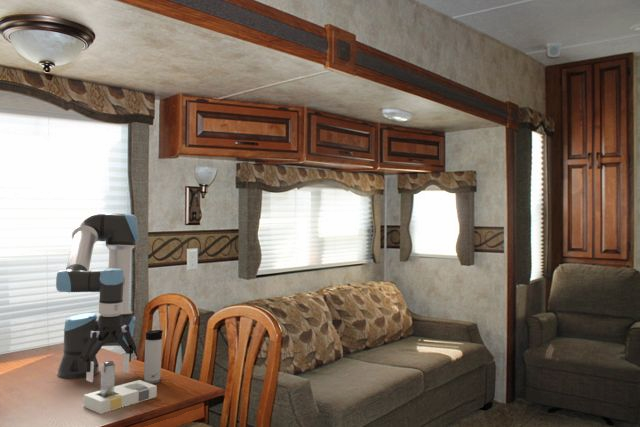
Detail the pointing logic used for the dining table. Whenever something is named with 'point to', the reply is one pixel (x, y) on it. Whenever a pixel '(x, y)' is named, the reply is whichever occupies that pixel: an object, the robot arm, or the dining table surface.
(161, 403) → the dining table surface
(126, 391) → the socket board
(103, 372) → the plug
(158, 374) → the travel mug
